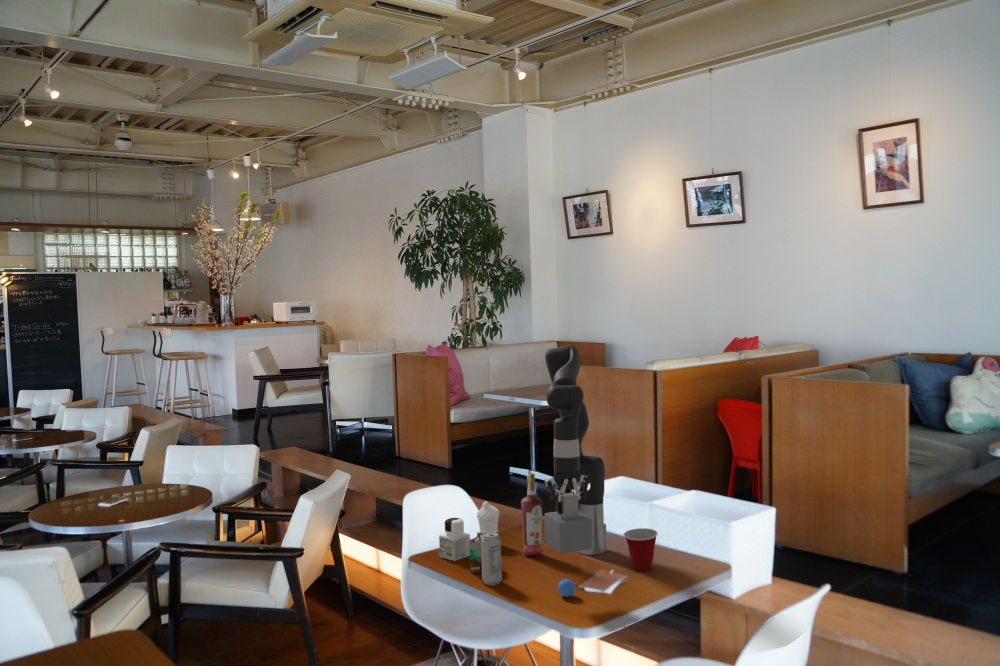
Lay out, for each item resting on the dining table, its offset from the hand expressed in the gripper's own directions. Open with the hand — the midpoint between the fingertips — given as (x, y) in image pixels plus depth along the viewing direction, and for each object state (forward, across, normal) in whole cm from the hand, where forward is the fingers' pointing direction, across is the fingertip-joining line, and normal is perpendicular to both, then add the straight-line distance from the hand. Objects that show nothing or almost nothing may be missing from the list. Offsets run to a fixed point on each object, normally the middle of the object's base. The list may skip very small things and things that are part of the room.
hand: (567, 512), depth 212 cm
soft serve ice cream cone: (+26, +4, -58) cm, 63 cm away
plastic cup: (+26, -32, -13) cm, 43 cm away
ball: (+23, 0, -2) cm, 23 cm away
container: (+26, +19, -51) cm, 60 cm away
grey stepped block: (+10, 0, 0) cm, 10 cm away
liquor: (+26, -6, -41) cm, 49 cm away
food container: (+26, +14, -36) cm, 46 cm away
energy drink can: (+26, +16, -22) cm, 37 cm away
